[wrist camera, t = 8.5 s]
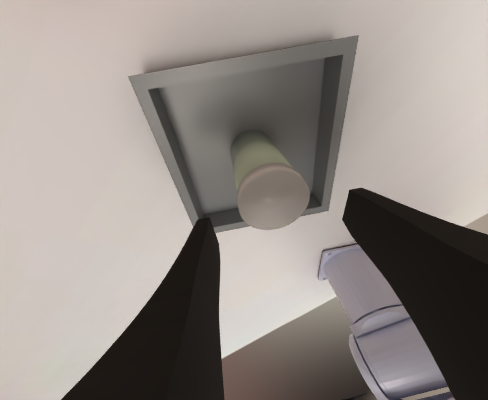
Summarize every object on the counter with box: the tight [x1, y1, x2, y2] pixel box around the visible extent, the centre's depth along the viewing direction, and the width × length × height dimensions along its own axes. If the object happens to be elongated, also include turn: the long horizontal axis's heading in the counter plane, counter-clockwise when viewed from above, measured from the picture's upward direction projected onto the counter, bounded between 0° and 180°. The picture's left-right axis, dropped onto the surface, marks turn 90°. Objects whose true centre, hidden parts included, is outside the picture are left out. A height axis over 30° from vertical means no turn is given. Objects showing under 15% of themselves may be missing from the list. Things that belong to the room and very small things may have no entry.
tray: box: [128, 35, 359, 233], centre depth 16 cm, size 14×14×3 cm
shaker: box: [231, 130, 310, 230], centre depth 14 cm, size 4×4×8 cm
